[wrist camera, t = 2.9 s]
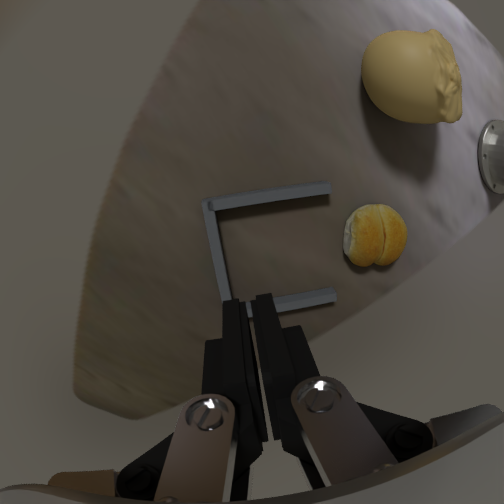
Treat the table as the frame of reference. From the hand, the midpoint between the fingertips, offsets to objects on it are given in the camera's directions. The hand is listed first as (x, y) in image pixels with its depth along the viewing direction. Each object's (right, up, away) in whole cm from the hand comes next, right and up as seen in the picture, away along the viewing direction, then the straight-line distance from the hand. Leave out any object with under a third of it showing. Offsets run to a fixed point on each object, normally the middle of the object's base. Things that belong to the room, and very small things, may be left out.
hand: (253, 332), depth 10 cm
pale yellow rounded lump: (+18, +24, +20) cm, 36 cm away
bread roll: (+16, +5, +27) cm, 31 cm away
